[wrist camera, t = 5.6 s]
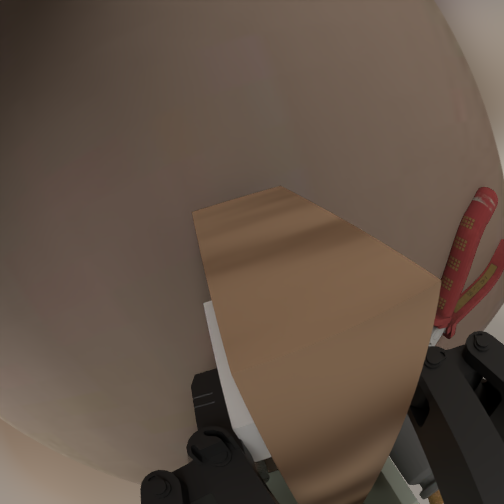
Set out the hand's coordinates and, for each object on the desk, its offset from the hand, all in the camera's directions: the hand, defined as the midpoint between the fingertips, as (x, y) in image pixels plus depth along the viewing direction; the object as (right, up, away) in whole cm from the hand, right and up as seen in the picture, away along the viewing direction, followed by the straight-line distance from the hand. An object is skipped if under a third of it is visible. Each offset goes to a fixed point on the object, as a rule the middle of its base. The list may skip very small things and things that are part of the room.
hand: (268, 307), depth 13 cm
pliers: (+17, 0, +9) cm, 19 cm away
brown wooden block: (+1, -5, +4) cm, 6 cm away
